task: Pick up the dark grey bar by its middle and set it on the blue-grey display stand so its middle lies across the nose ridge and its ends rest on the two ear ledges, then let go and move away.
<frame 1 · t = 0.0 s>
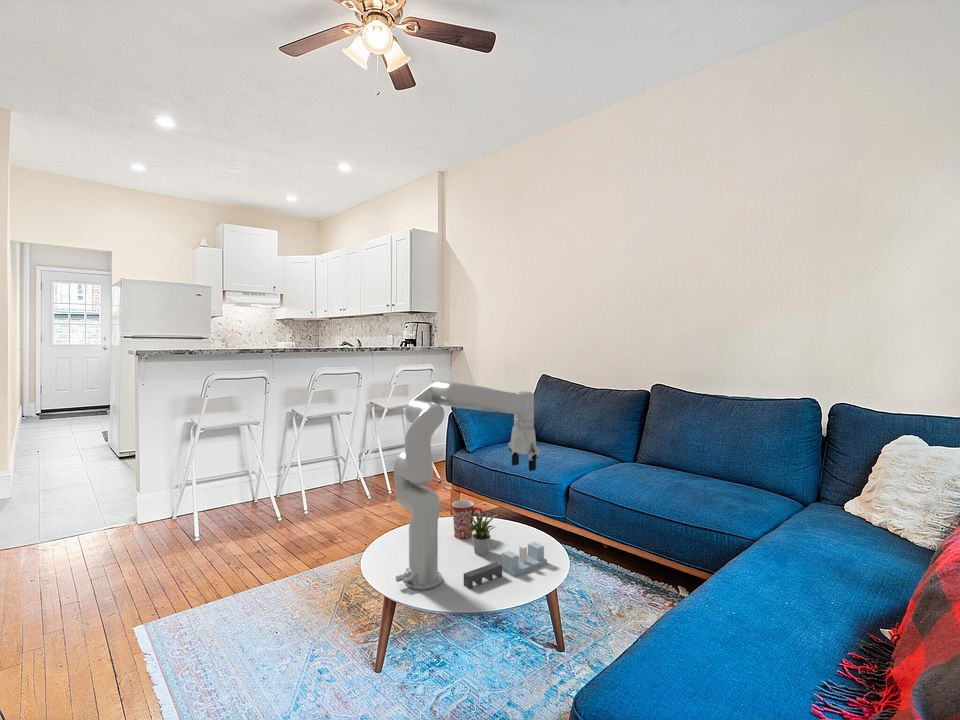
hand: (523, 467, 193), 31 cm above the table, tool pointing down, fingers open, 9 cm apart
display stand: (523, 565, 178), on the table
dark grey bar: (483, 580, 167), on the table
mug: (467, 536, 205), on the table
house plant: (477, 552, 190), on the table
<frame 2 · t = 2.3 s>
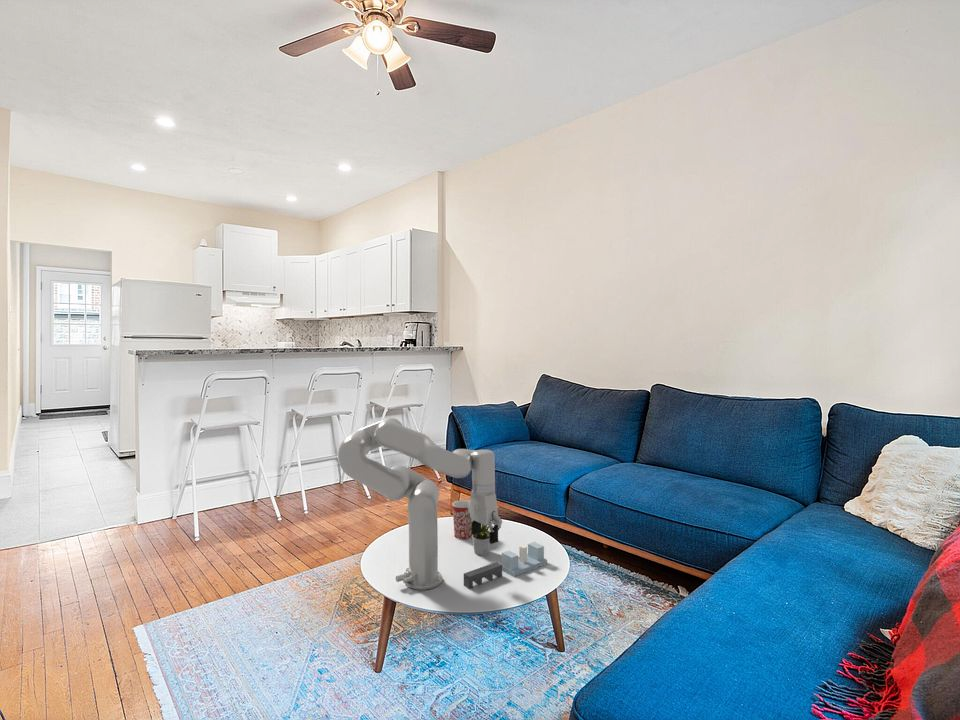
hand: (484, 538, 166), 15 cm above the table, tool pointing down, fingers open, 9 cm apart
nothing on the table moved.
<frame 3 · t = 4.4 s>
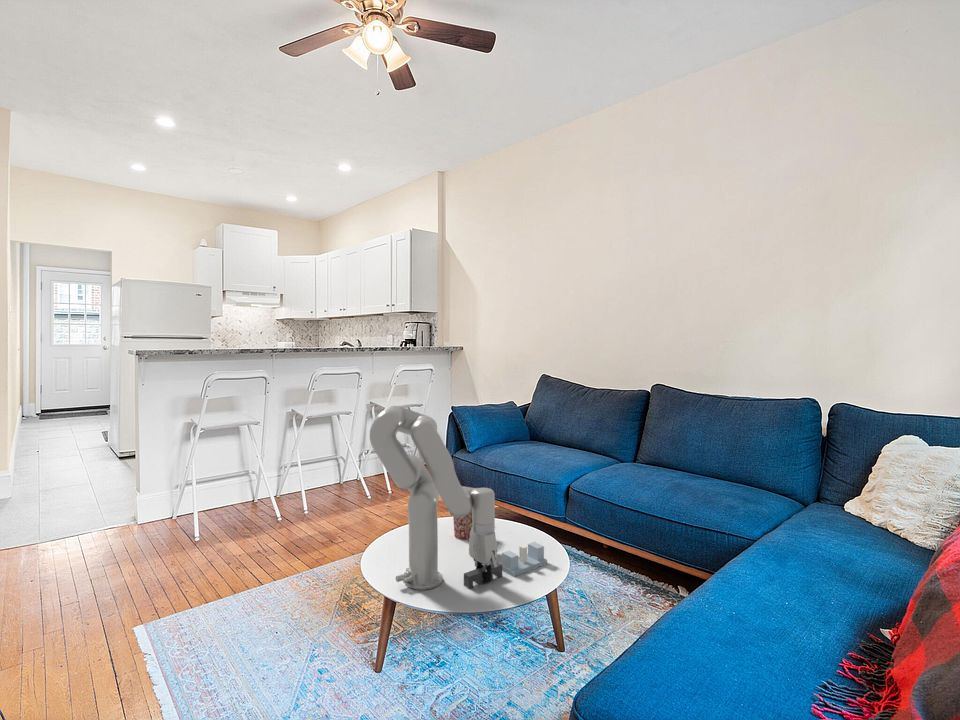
hand: (483, 579, 167), 0 cm above the table, tool pointing down, fingers closed on dark grey bar, 3 cm apart
dark grey bar: (483, 580, 167), on the table, touching gripper
everything else where it was.
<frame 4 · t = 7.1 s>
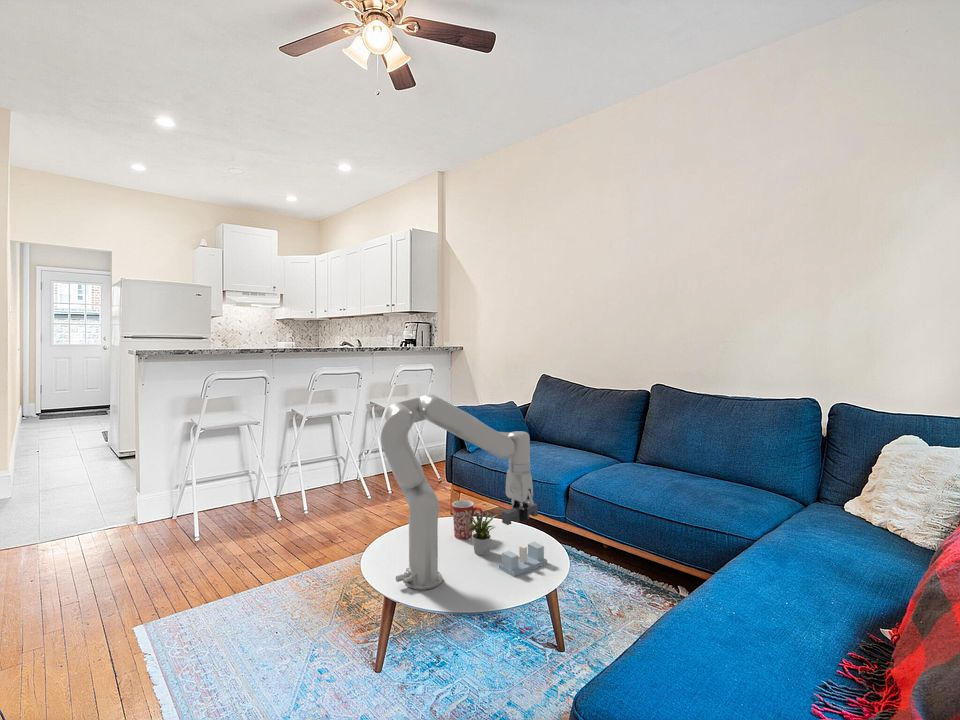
hand: (520, 517, 176), 18 cm above the table, tool pointing down, fingers closed on dark grey bar, 3 cm apart
dark grey bar: (520, 519, 176), point 17 cm above the table, touching gripper
everything else where it was.
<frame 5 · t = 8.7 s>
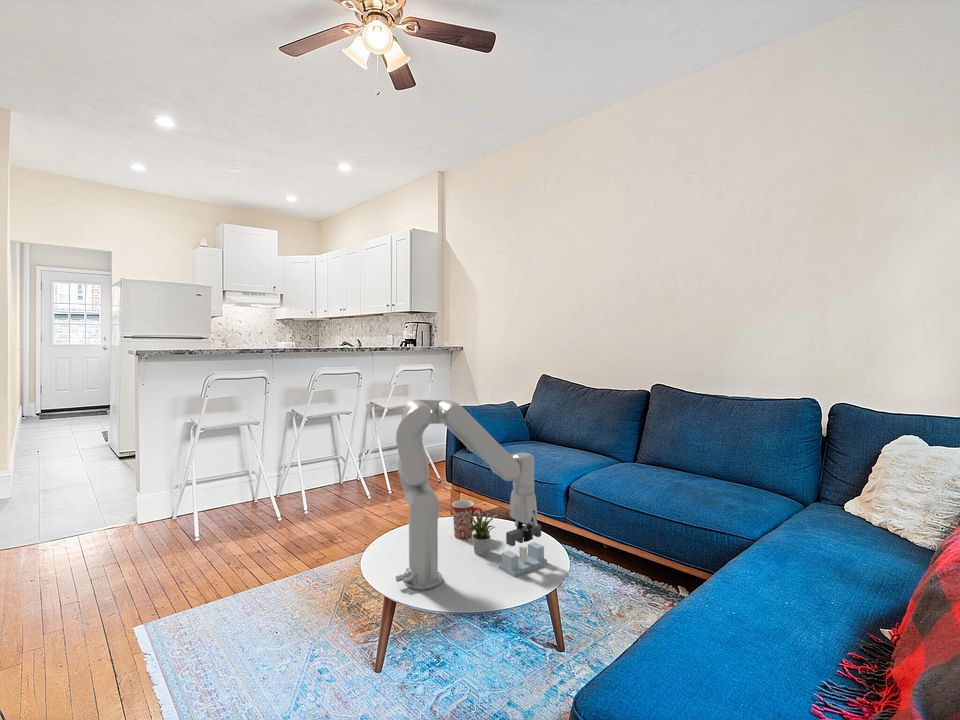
hand: (523, 538, 178), 10 cm above the table, tool pointing down, fingers closed on dark grey bar, 3 cm apart
dark grey bar: (524, 539, 178), point 9 cm above the table, touching gripper
everything else where it was.
when the fingers open (7 cm above the table, at t = 10.2 s): dark grey bar stays where it is, resting on display stand.
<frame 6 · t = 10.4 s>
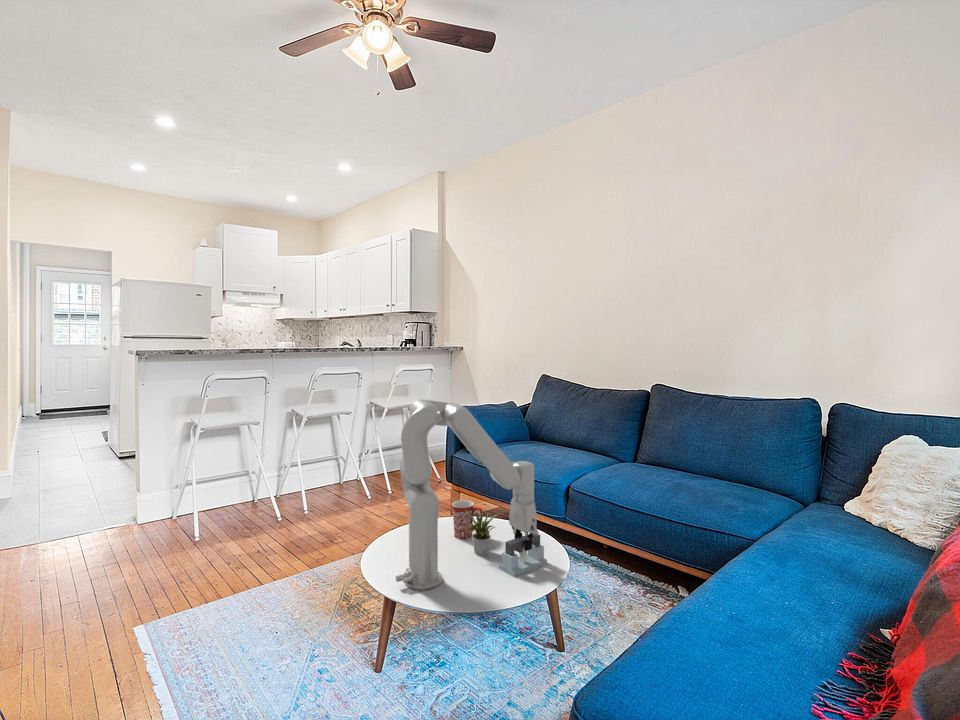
hand: (523, 546, 178), 7 cm above the table, tool pointing down, fingers open, 4 cm apart
dark grey bar: (523, 549, 178), point 6 cm above the table, touching display stand
everything else where it was.
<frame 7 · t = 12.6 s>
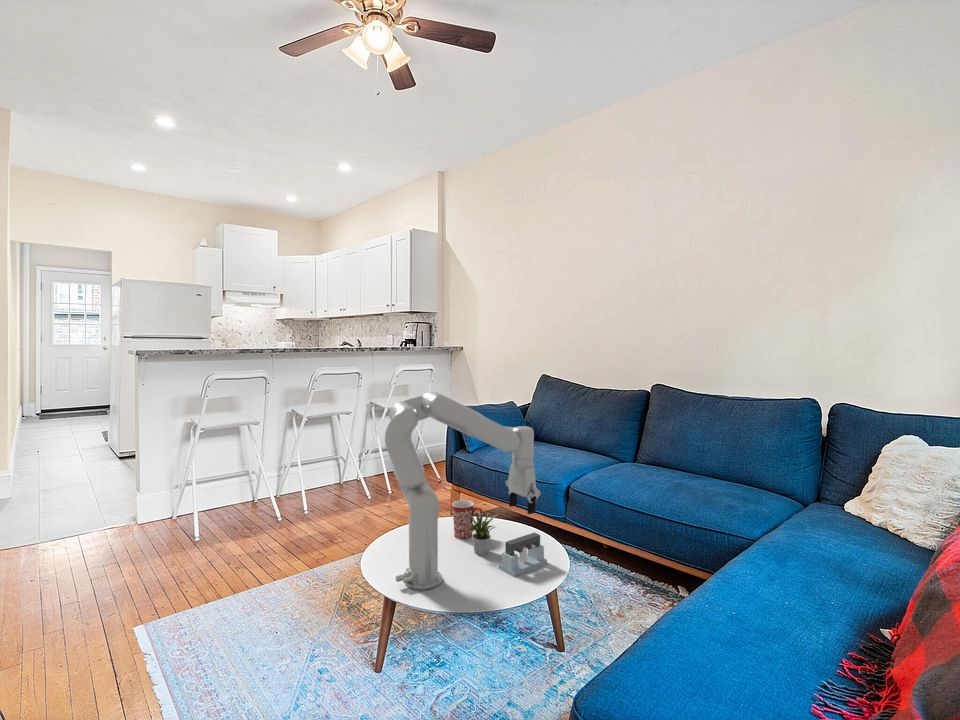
hand: (522, 509, 177), 20 cm above the table, tool pointing down, fingers open, 9 cm apart
nothing on the table moved.
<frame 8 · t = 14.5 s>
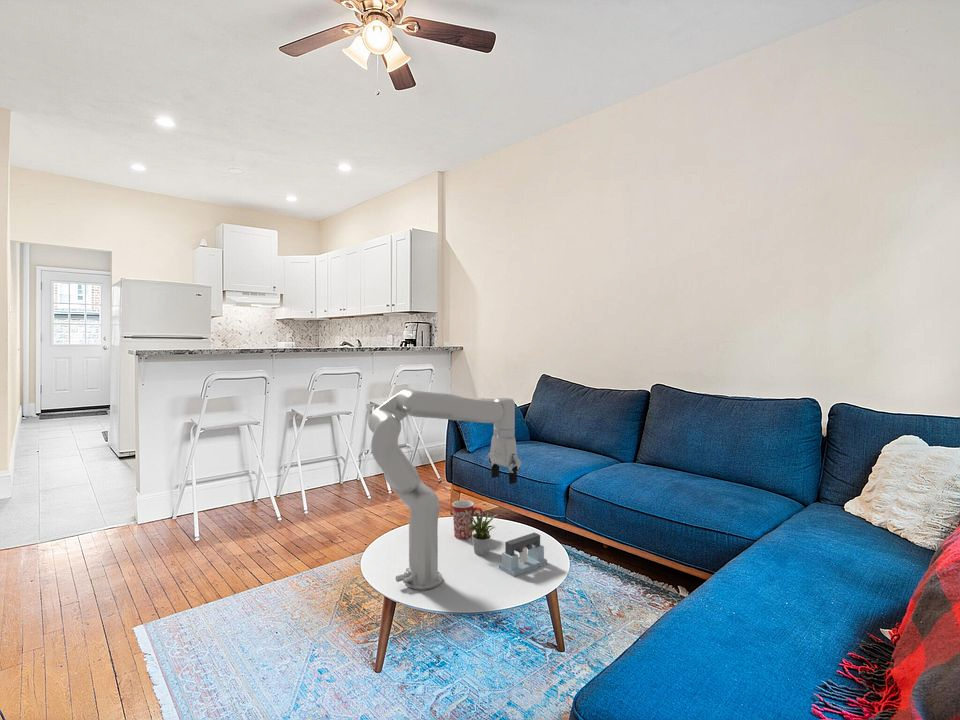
hand: (503, 480, 179), 30 cm above the table, tool pointing down, fingers open, 9 cm apart
nothing on the table moved.
at the end: dark grey bar 0.1 cm off-centre on the display stand, point 6.0 cm above the display stand's base; dark grey bar tilted 0°; the gripper is holding nothing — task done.
